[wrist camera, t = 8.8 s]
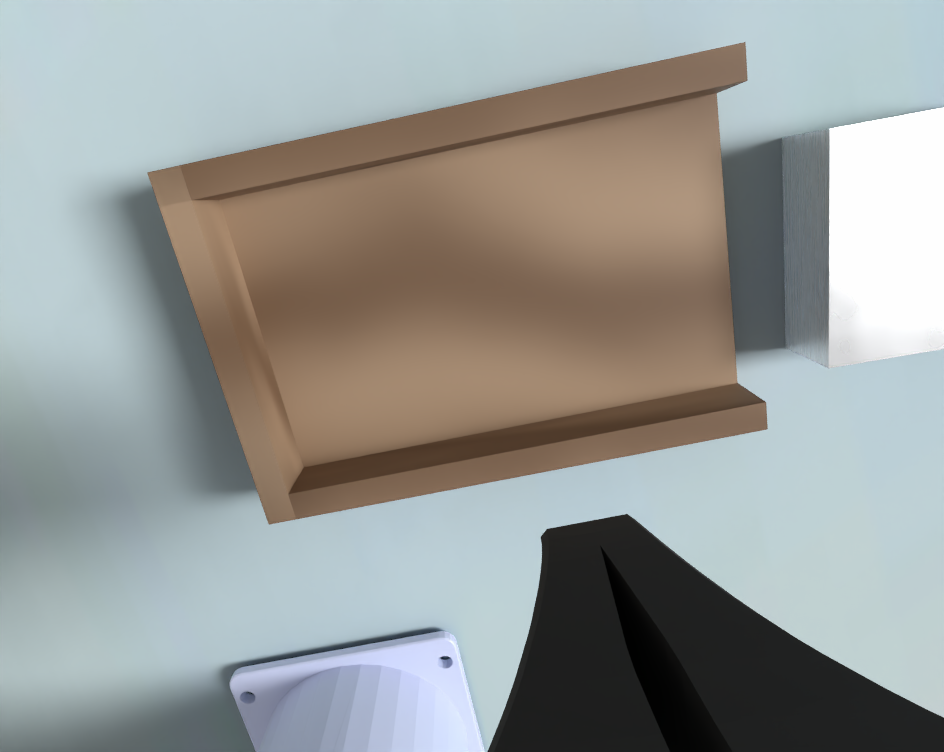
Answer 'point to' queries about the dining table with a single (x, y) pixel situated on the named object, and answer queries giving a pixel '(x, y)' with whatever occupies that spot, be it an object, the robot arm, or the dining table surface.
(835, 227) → the cover plate
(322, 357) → the wooden box
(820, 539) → the dining table surface
